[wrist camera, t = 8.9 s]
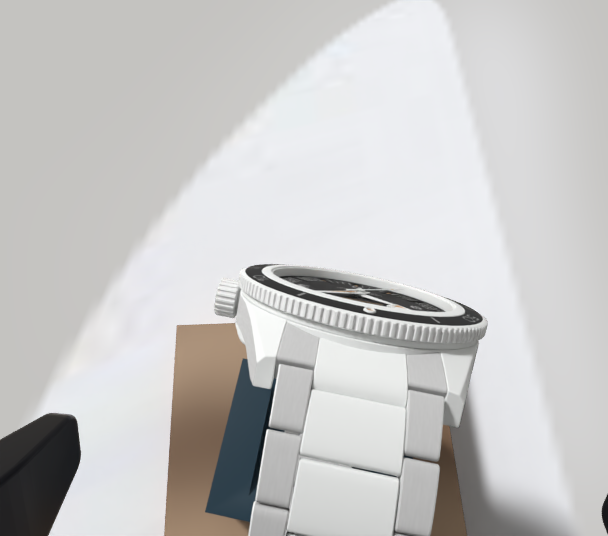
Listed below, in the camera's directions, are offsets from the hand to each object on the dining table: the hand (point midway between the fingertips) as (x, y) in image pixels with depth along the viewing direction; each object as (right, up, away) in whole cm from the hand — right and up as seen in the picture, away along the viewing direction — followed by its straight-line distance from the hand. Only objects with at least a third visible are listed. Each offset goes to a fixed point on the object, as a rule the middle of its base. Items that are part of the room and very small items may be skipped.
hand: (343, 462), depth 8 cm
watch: (0, -3, +9) cm, 9 cm away
